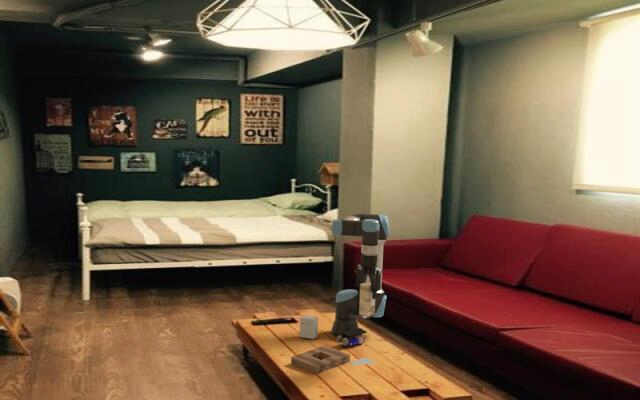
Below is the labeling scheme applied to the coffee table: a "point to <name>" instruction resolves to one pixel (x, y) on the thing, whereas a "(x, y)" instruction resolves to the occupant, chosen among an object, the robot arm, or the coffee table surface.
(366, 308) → the beech block
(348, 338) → the toy car
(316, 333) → the small box
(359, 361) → the pad
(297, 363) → the pocket board
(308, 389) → the coffee table surface
